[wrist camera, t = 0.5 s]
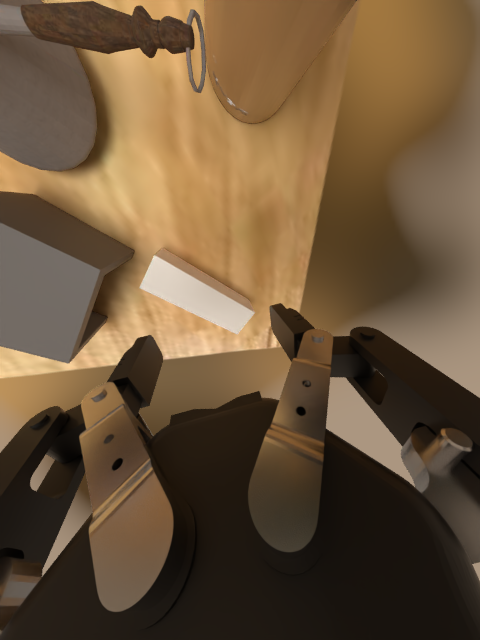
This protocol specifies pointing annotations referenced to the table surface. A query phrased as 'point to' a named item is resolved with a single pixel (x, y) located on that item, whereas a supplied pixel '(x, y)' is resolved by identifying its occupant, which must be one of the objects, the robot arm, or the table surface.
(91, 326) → the shelf
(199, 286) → the long white plank
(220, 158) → the table surface
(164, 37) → the coffee pot
